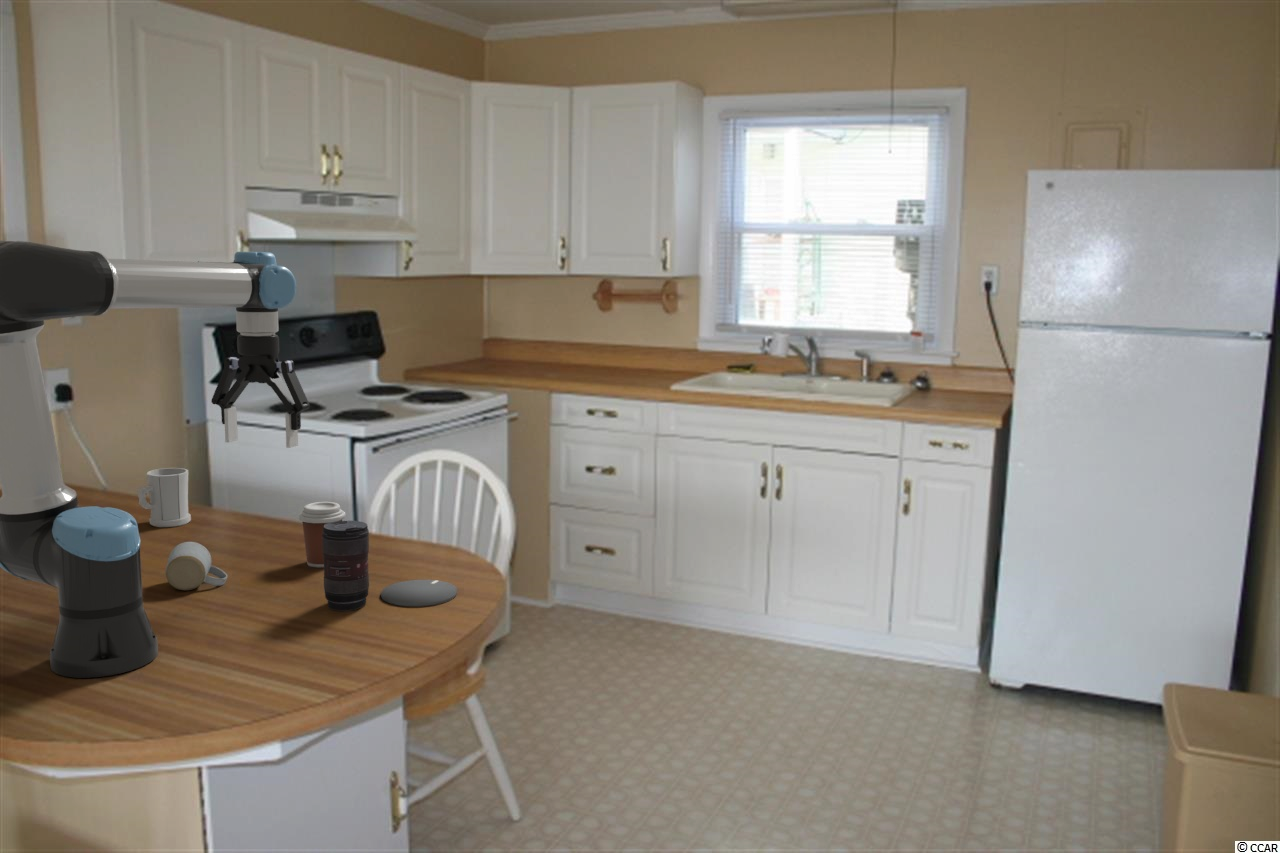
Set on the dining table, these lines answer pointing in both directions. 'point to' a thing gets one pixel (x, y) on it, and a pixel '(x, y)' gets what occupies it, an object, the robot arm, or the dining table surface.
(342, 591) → the camera lens
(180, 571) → the ceramic mug
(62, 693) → the dining table surface
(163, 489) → the cup
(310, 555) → the coffee cup
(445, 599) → the pad
